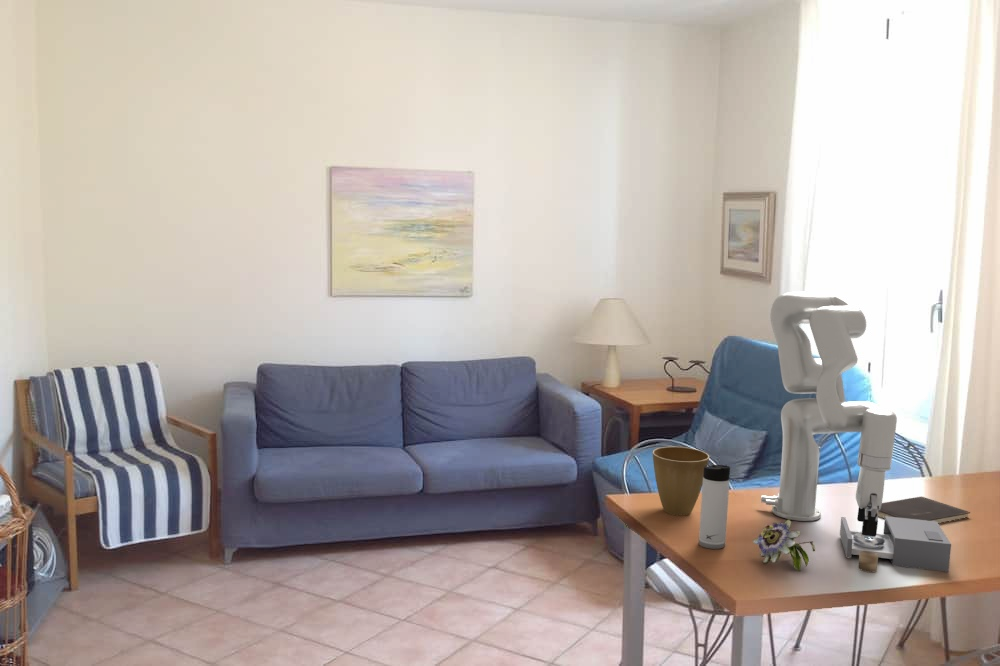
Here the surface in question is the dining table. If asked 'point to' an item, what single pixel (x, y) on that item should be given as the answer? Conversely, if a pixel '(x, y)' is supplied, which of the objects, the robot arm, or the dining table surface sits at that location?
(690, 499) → the plant pot
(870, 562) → the stand
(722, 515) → the travel mug
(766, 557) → the passion flower
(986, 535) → the dining table surface
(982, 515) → the dining table surface
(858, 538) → the disc
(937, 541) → the housing
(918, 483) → the dining table surface
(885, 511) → the hardcover book
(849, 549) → the tray
